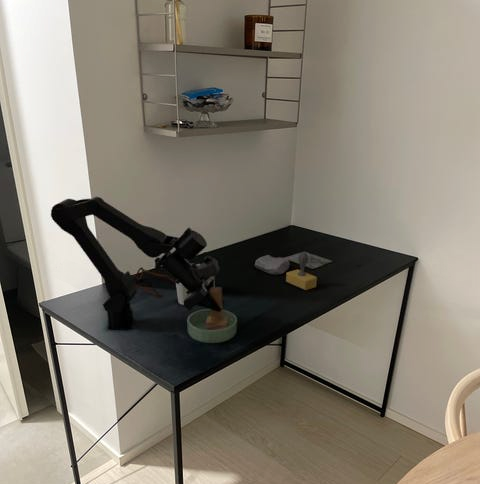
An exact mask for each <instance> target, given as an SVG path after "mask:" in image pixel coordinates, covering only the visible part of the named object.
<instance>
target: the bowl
mask: <svg viewBox="0 0 480 484" xmlns="http://www.w3.org/2000/svg"><path fill="white" fill-rule="evenodd" d="M208 316H211V309H209V308H204V309H198V310H196V311H193V312H192V313H191V314H189V315H188V316H187V320H186V322H187V323H186V326H187V329H186V330H187V331H186V332H187V333H188V335H189V337H190V338H192V339H193V340H195V341H198V342H200V343H205V344H218V343H224V342H227V341H229V340H231V339H232V338H234V337H235V335H236V334H237V332H238V317H237V315H236V314H235V313H233V312H231V311H228V310H226V309H223V316H224V317H228V324H229V327H227V328H224V329H220V330H206V319H207V317H208Z"/></svg>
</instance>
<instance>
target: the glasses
mask: <svg viewBox="0 0 480 484" xmlns="http://www.w3.org/2000/svg"><path fill="white" fill-rule="evenodd" d="M140 272H141V274H140ZM144 273H147V274H150V275H152V276H156V277H163V278H167V279H168V280H169V281H171V282H172V283H173V284H174V283H176V282H175V281H176V280H174V279H173V278H172V277H171V276H169V275H167V274H160V273H156V272H152V271H151V270H150V271H149V270H146V269H144V268H143V267H139V269H138V270H137V272H136V273H134V275H131V277H132V278H133V279H134V278H136V281H138V282H139V281H141V279H142V277H143V276H144ZM139 274H140V277H139ZM136 286H137V289H141V290H149V291H153V292H154V293H155V294H156V295H157V296H158V297H161V294H160V293H159V292H158V291H157V290H156V289H155V288H153V287H144V286H141V285H138V284H136Z"/></svg>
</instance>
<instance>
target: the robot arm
mask: <svg viewBox="0 0 480 484" xmlns="http://www.w3.org/2000/svg"><path fill="white" fill-rule="evenodd" d="M89 216H94V217H96V218H97V219H98V220H100V221H102V222H104V223H105V224H106V225H108V226H110V227H112V228H113V229H114V230H116V231H117V232H119V233H121V234H123V235H124V236H125V237H127V238H129V239H130V240H131V241H132V242H133V243H134V244H135V246H136V247H137V248H138V249H139V250H140V251H141V252H142V253H143V254H144V255H146V256H147V257H149V258H151V259H153V258H155V259H154V269H155V271H158V270H159V269H160V268H162V267H163V268H164V269H165V270H166V271H167V272H168V273H169V274H170V275H171V276H172V277H173V278H174V279H175V280H174V281H175V282H174V283H175V284H176V283H177V284H179V283H181V284H182V285H183V286H184V287H185V288H186V289H187V291H186V293H187V294H188V295H187V296H186V298H185V300H184V305H183V307H184V308H186V310H188V311H191V310H192V309H193V308H194V307H196V306H199V307H203V308H204V309H211V310H214V311H217V312H220V311H221V310H222V309H221V308H220V306H219V305H218V304H217V302H216V301H215V300H214V299H213V297H212V296H211V292H210V289H211V287H214V279H213V280H212V281H211V282H210V281H209V280H208V279H209V278H210V277H211V276H212V277H213V276H215V277H216V276H217V275H219V272H220V270H221V268H220V267H219V264H218V263H219V261H218V260H217V259H216V258H214V257H212V256H211V255H207V256H205V257H204V262H202V263H201V265H199V266H197V264H196V263H195V262H192V263H190V262H189V261H188V260H193V259H195V258H196V257H197V255H199V254H200V253H201V252H202V251H203V250H204V249H206V247H207V246H208V243H207V241H206V239H205V238H204V236H203V235H202V234H201V233H199V232H197V231H196V230H194V229H191V228H190V227H187V228H186V229H185V230H184V231H183V233H182V234H181V235H180V236H179V237H178V236H172V235H167V234H166V233H164V232H163V231H161V230H159V229H157V228H154V227H152V226H148V225H143V224H141V223H139V222H137V221H136V220H134V219H132V218H131V217H130V216H129V215H126V214H125V213H124V212H122V211H120V210H119V209H117V208H115V207H114V206H112V205H111V204H109V203H108V202H106V201H105V200H104V199H103V198H102V197H99V196H93V197H91V198H90V197H89V198H81V199H77V200H76V199H73V198H66V199H63V200H62V201H59V202H57V203H56V204H54V205H53V206H52V207H51V209H50V218H51V219H52V221H53V222H54V223H55V224H56V225H57V226H58V228H60V229H61V230H62V231H63V232H65V233H67V234H68V235H70V236H72V237H73V238H74V240H75V241H76V243H77V244H78V245H79V247H80V248H81V250H82V251H83V252H84V254H85V255H86V256H87V258H88V259H89V261H90V262H91V263H92V266H94V268H95V269H96V270H97V273H99V275H100V276H101V277H102V279H103V281H104V284H105V290H106V292H107V295H108V298H107V300H105V302H104V303H103V304H102V306H103V309H104V310H105V312H106V314H107V322H108V323H107V327H106V328H107V330H130V329H131V327H132V325H133V323H134V310H133V308H131V301H132V300H133V298H134V297H135V296H136V294H137V293H138V288H137V286H136V285H137V284H136V283H137V280H135V279H134V278H132V277H133V276H132V275H131V274H132V273H130V271H128V270H126V272H123V271H121V270H120V269H119V268H118V267H117V265H116V264H115V263H114V261H113V260H112V259H111V257H110V256H109V254H108V252H106V250H105V249H104V247H103V246H102V244H101V243H100V242H99V240H98V239H97V238H96V236H95V234H94V233H93V232H92V231H91V229H90V227H89V225H88V222H87V221H88V220H87V217H89ZM160 256H161V257H160ZM131 276H132V277H131ZM207 280H208V281H207Z"/></svg>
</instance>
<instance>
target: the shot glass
mask: <svg viewBox="0 0 480 484" xmlns="http://www.w3.org/2000/svg"><path fill="white" fill-rule="evenodd" d="M175 287H176V294H177V295H176V296H177V301H178V304H180V305H181V306H184V300H185V298H186V296H187V295H188V294H187V293H186V291H187V289H186V288H185V287H184V286H183V285H182V284H181V283H179V284H177V283H176V282H175Z"/></svg>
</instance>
